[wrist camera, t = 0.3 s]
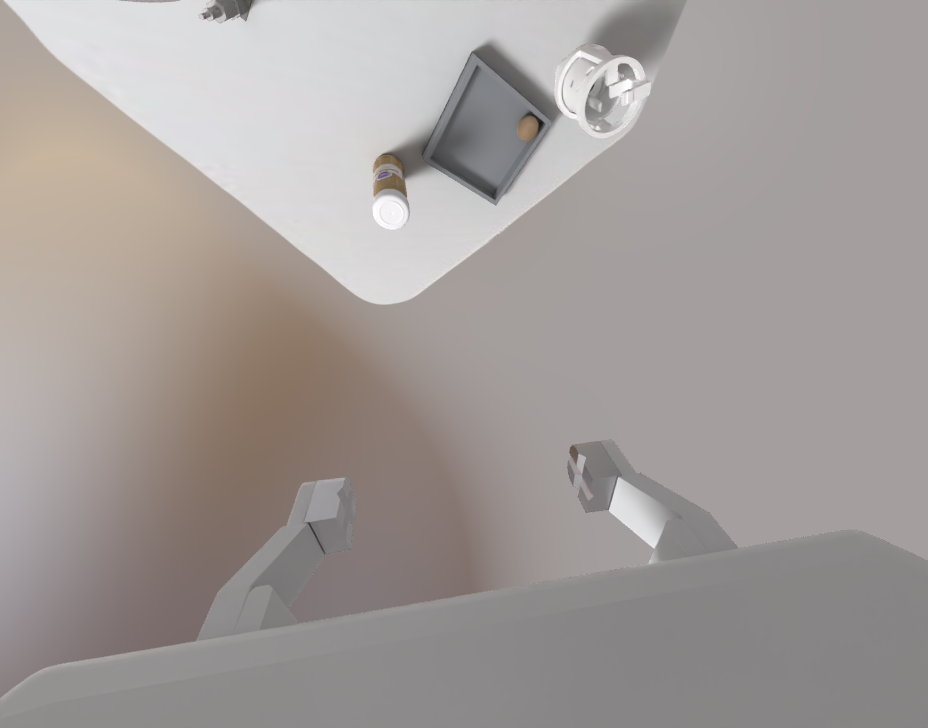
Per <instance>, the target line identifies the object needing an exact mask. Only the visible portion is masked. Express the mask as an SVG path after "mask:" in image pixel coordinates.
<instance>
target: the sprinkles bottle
mask: <svg viewBox="0 0 928 728" xmlns="http://www.w3.org/2000/svg"><path fill="white" fill-rule="evenodd" d="M373 173H374V176H373V189H374V199H373V215H374V218H375V220H376V221H377V223H378V224H379V225H381V226H382V227H384V228H386V229H391V230H394V229H399V228H401V227H403V226H404V225H405V224H406V223H407V221H408V219H409V214H410V211H409V203H408V201H407V192H406V185H405V178H404V169H403V166H402V164H401V162H400V161H399V160H398V159H397V158H396V157H394V156H392V155H382V156H380V157H379V158H377V159H376V161H375V163H374V166H373Z"/></svg>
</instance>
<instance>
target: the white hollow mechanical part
mask: <svg viewBox="0 0 928 728" xmlns="http://www.w3.org/2000/svg"><path fill="white" fill-rule="evenodd" d="M620 63H627V64H629V65H630V66H631V68H632V69H633V71H634V73H635V74H633V75H631V76H629V77H627V78H625V79H624V74H622V73H620V72H618V65H619V64H620ZM555 80H556V82H555V100H556V103H557V106H558V108H559V109H560V110H561V111H562V112H563V113H564V114H565V115H566V116H568V117H569V118H572V119H578V121H579V124H580V126H581V127H582V128H583V130H584V131H586V132H587V133H588V134H589V135H591V136H593V137H596V138H606V137H610V136H612V135H614V134H616V133H618V132H619V131H621V130H622V129H623V128H624V127H625V126H627V125H628V123H629V122H630V121H631V120H632V119H633V117H634V116H635V114H636V113H637V111H638V109H639V107H640V105H641V103H642V100H643V98H644V97H646V96H648V95H650V88H651V81H648V80H646V78H645V73H644V70H643V67H642V66H641V64H640V63H639V62H638V61H637V60H635V59H634V58H631V57H628V56H626V55H614V56H613V55H611V53H610V52H609V51H608V50H607V49H606V48H605V47H603V46H600V45H598V44H594V43H589V44H584V45H582V46H580V47H578V48H576V49H575V50H574V51H573V52H571V53H570V54H569V56H568V57H567V58H565V59H563V60H562V61H561V62H560V63H559V65H558V67H557V69H556V73H555ZM621 96H622V103H621V105H623V106H625V105H628V104H631V105H630V107H629V109H628V110H627V112H626V113H625V114H624V116H623V118H622V120H621V121H619V122H617V123H616V124H614V125H611V124H610V123H608V122H607V121H605V120H604V118H605V117H606V116H608V115H609V114H610V113H611V112H612V111H613V110H614V109H615V107H616V106H617V104H618V102H619V101H620V98H621ZM562 100H563V101H562ZM563 102H564V104H565V105H566V106H567V107H568V108H570V109H571V110H572V111H573V112H570V111H568V110H567V109H566V108H565V106H564V104H563ZM587 122H588V123H589V124H591V128H596V129H597V130H594V129H591V128H590V127H589V126H588V124H587Z"/></svg>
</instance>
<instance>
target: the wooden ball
mask: <svg viewBox="0 0 928 728" xmlns="http://www.w3.org/2000/svg"><path fill="white" fill-rule="evenodd" d="M537 132H538V122H537V120H536V118H535V117H533V116H530V115H527V116H524V117H523V118H521V119H520V121H519V122H518V125H517V134H518V136H519V138H520V139H521V140H523V141H530V140H532V139H533V138H534V137H535V136H536V135H537Z"/></svg>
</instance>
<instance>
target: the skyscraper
mask: <svg viewBox="0 0 928 728" xmlns="http://www.w3.org/2000/svg"><path fill="white" fill-rule="evenodd" d="M121 1H134V2H173V1H179V0H121ZM251 1H252V0H211V1H210V2H208V3H206V5H207V8H205V9H203V10H202V12H203V13H202V14H199V18H200V19H201V20H204V19H207V20H208V21H212V20H216V21H217V22H218V23H219V24H220V23H222V22H224V21H226V20H228V19H231V20H234V19H236V18H238V17H239V16H240V17H241V18H242V19H244V20H245V21H246V19H247V15H248V12H249V8H250V5H251Z"/></svg>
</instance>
